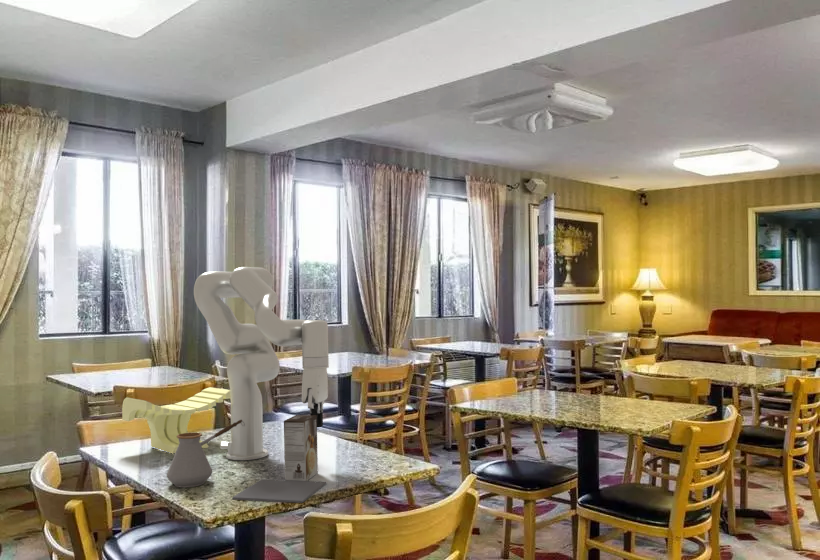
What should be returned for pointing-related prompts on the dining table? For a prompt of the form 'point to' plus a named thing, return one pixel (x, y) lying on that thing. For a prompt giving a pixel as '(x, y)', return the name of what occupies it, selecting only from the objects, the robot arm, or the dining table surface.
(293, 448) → the coffee box
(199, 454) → the coffee pot
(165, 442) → the slatted curved stool
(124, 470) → the dining table surface
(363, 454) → the dining table surface
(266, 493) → the mat
